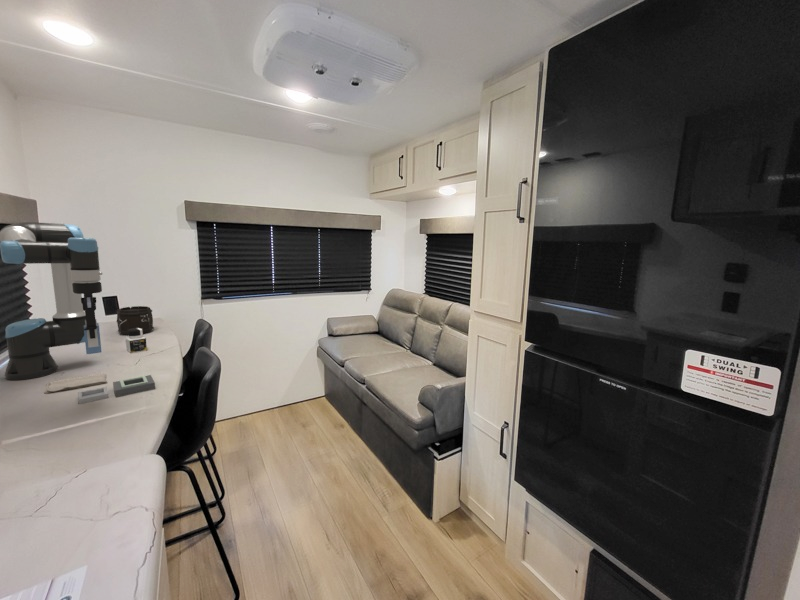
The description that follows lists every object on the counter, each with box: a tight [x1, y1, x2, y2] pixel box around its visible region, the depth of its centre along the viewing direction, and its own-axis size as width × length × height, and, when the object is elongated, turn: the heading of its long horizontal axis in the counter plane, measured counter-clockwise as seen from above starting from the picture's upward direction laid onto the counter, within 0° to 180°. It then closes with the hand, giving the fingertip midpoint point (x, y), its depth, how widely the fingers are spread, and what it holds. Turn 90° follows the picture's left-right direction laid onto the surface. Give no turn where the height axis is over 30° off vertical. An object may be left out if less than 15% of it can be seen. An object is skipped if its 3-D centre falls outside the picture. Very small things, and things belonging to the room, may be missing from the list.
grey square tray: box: [77, 386, 110, 405], centre depth 123 cm, size 8×8×2 cm
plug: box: [84, 318, 102, 355], centre depth 120 cm, size 4×4×12 cm
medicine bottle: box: [125, 328, 148, 354], centre depth 176 cm, size 7×7×12 cm
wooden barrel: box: [116, 305, 154, 337], centre depth 209 cm, size 18×18×16 cm
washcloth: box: [43, 373, 108, 395], centre depth 132 cm, size 12×18×3 cm, turn 133°
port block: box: [112, 374, 156, 398], centre depth 131 cm, size 12×10×4 cm
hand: (93, 345), depth 120 cm, fingers closed on plug, 4 cm apart
